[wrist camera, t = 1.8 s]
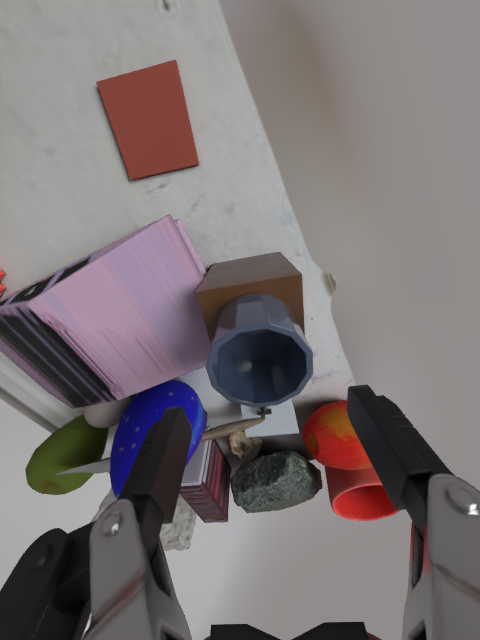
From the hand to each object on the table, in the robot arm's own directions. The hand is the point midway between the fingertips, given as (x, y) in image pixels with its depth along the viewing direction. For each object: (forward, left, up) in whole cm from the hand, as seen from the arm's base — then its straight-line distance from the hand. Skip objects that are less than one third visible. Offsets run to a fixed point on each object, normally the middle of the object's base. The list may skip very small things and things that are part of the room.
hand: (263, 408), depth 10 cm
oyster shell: (+29, -7, -14) cm, 33 cm away
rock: (+40, -6, -15) cm, 44 cm away
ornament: (+14, -15, -18) cm, 27 cm away
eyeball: (+10, -25, -15) cm, 31 cm away
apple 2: (+21, +5, -11) cm, 24 cm away
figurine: (+18, 0, -15) cm, 23 cm away
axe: (+14, -12, -9) cm, 20 cm away
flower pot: (+33, +12, -18) cm, 39 cm away
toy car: (0, -16, -18) cm, 24 cm away
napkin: (-17, -6, -18) cm, 25 cm away
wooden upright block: (0, 0, -18) cm, 18 cm away
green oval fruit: (+18, -30, -18) cm, 40 cm away
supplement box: (+23, -14, -13) cm, 30 cm away
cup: (0, 0, -8) cm, 8 cm away
